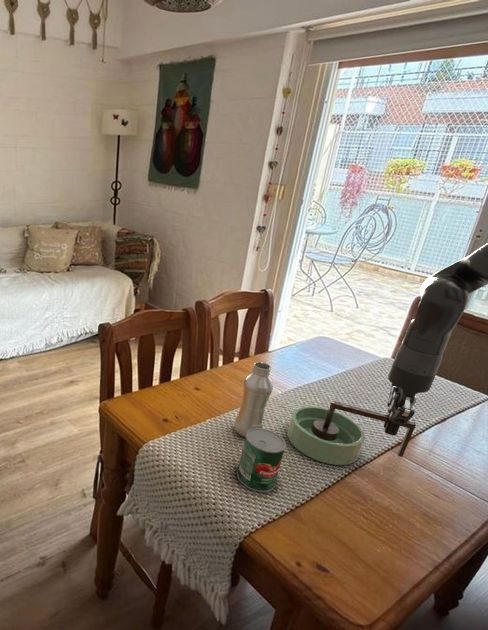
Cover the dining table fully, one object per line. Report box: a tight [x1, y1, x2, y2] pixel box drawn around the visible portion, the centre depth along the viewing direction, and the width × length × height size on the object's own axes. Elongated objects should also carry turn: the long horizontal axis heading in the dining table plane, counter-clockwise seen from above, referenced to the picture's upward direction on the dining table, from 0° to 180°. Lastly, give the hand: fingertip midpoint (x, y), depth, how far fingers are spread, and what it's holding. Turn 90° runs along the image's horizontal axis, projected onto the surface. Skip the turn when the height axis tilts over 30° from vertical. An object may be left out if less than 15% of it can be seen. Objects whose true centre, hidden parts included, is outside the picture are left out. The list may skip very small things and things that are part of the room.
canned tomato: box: [236, 428, 287, 493], centre depth 95 cm, size 8×8×11 cm
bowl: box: [286, 405, 366, 466], centre depth 108 cm, size 16×16×6 cm
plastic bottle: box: [234, 361, 274, 438], centre depth 108 cm, size 6×7×20 cm
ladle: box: [311, 401, 417, 458], centre depth 103 cm, size 19×6×9 cm, turn 62°
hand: (389, 430), depth 101 cm, fingers closed on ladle, 1 cm apart
